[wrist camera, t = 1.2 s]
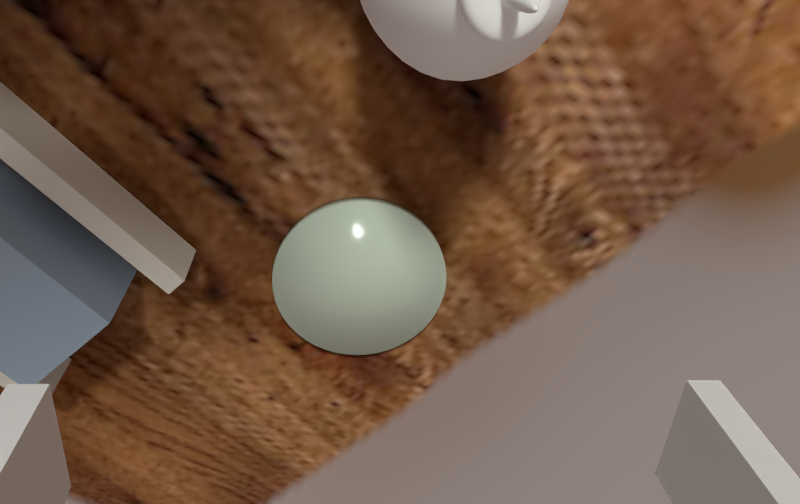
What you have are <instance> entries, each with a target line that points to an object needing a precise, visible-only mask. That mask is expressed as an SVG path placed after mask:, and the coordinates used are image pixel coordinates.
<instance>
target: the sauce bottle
mask: <svg viewBox="0 0 800 504" xmlns="http://www.w3.org/2000/svg"><path fill="white" fill-rule="evenodd" d="M360 2H361V5H362V8H363V10H364V12H365V14H366V16H367V18H368V20H369V22H370V23H371V25H372V27H373V29H374V30H375V32H376V33H377V34H378V36H379V37H380V38H381V40H382V41H383V42H384V43H385V45H386V46H387V47H388V48H389V49H390V50H391V51H392V52H393V53H394V54H395V55H396V56H397V57H399V58H400V59H401V60H402V61H403V62H405V63H406V64H408V65H409V66H411V67H413V68H414V69H416V70H418V71H419V72H421V73H423V74H426V75H429V76H432V77H435V78H438V79H441V80H453V81H469V80H475V79H482V78H486V77H489V76H492V75H495V74H498V73H500V72H503V71H505V70H507V69H509V68H511V67H512V66H514V65H516V64H518V63H520V62H521V61H523V60H524V59H525V58H527V57H528V56H529V55H531V54H532V53H533V52H535V51H536V50H537V49H538V48H539V47H540V46H541V45H542V44H543V43H544V42H545V41H546V40H547V39H548V38H549V36H550V35H551V34H552V32H553V31H554V29H555V28H556V26H557V25H558V23H559V22H560V20H561V19H562V16H563V14H564V11H565V9H566V7H567V4H568V2H569V0H360Z"/></svg>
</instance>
